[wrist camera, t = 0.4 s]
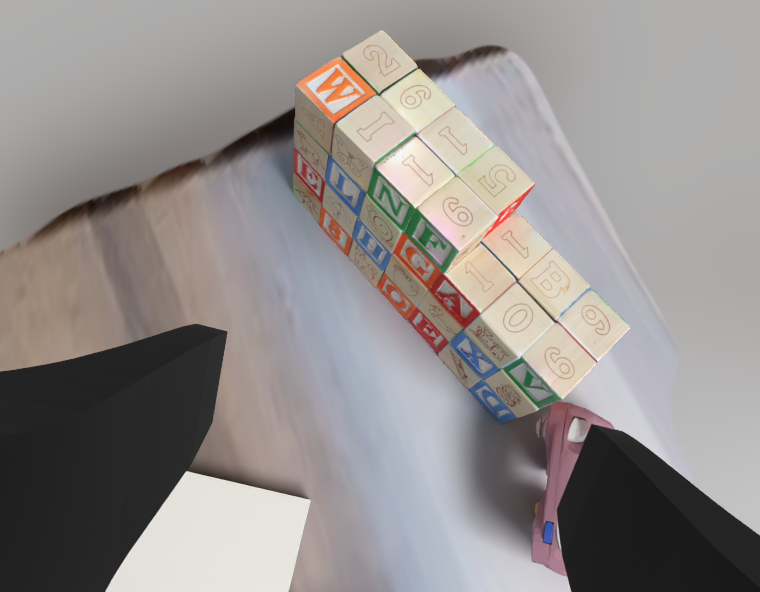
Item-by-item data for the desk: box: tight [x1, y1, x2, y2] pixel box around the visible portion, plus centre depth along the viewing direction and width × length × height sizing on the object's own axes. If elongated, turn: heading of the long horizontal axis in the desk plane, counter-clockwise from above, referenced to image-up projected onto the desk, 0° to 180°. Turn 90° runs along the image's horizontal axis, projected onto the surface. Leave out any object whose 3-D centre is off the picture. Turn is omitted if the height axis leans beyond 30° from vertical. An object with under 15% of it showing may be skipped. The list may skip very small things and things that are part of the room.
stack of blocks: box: [293, 31, 630, 423], centre depth 37 cm, size 21×6×12 cm, turn 42°
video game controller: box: [531, 402, 614, 576], centre depth 37 cm, size 10×5×7 cm, turn 167°
